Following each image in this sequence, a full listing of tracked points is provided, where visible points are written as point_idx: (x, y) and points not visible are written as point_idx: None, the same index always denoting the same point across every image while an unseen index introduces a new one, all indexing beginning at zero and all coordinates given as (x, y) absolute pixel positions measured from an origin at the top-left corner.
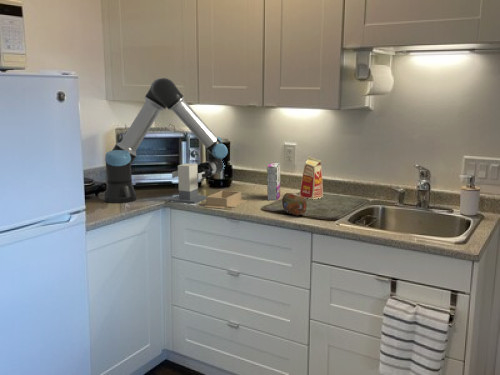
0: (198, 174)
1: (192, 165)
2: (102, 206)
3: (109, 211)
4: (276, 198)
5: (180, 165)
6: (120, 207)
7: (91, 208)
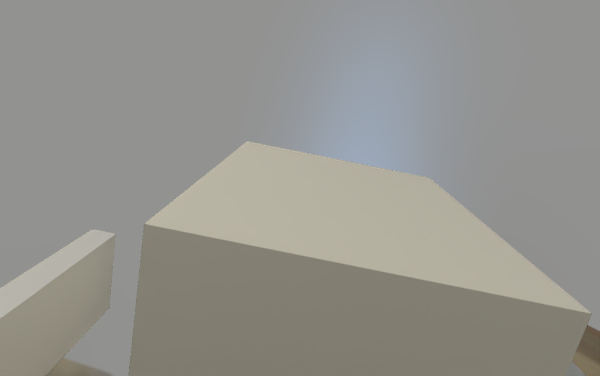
0: (90, 236)
1: (224, 163)
2: (587, 345)
3: None
4: None
5: (404, 176)
6: None
7: None
